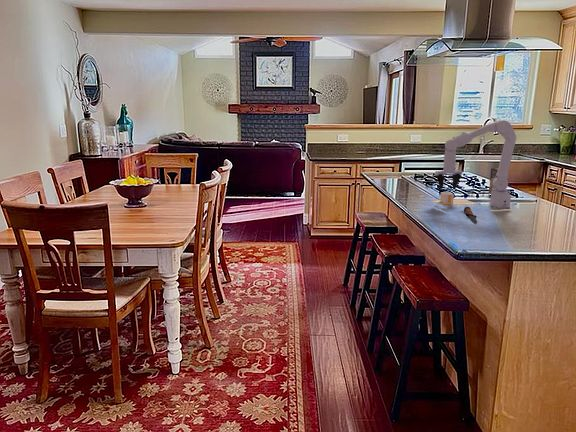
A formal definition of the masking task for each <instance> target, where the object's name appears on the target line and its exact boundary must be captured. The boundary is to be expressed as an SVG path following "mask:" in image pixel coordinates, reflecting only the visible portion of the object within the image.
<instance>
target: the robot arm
mask: <svg viewBox="0 0 576 432" xmlns="http://www.w3.org/2000/svg"><path fill="white" fill-rule="evenodd" d="M489 132H490V133H495V132H497V133H498V134H499V135H501V136H502V138H503V139H504V143H503V147H502V151H501V156H500V160H499V163H498V167H497V168H498V171H497V173H496V176H495V178H494V179H493V181H492V184H493V186H494V187H493V188H492V191H491V196H490V201H489V204H490V206H492V207H497V208H498V209H505V208H506V210H509V209H511V208H510V207H511V198H512V197H511V196H512V195H511V194H510V192H508V186H509V181H508V177H509V169H510V166H511V162H512V161H511V160H512V157H513V154H514V149H515V145H516V141H517V135H516V132H515V130H514V127H513V125H512V124H511V122H509V121H508V120H507V119H506V120H505V119H499V120H496V121H493V122H490V123H488V124H485V125H483V126H482V127H479V128H477V129H476V130H473V131H471V132H468V131H463V132H461V133H460V134H458V135H457V136H452V139H448V140H446V142H445V143H444V147H445V150H444V157H443V169H442V170H438V171H437V170H436V171H435V172H434V173H435V174H434V175H435V178H436V179H437V182H438V187H439V189H440V190H442V189H444V182H445V177H446V176H450V175H452V189H457V186H458V184H459V181H460V179H461V178H462V175H463V170H460V169H459V170H456V161H457V160H456V159H457V153H456V152H457V148H461V147H463V146H465V145H467V144H469V143H472V140H473V139H476V138H477V137H479V136H482V135H484V134H487V133H489Z"/></svg>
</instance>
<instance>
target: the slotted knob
mask: <svg viewBox="0 0 576 432" xmlns="http://www.w3.org/2000/svg"><path fill="white" fill-rule="evenodd" d="M454 195H455V194H454V193H452V192H449V191H446V192H444V191H443V192H440V197H439V200H440V202H442V203H445V204H448V203H453V199H455V198H454V197H455V196H454Z"/></svg>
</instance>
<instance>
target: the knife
mask: <svg viewBox="0 0 576 432" xmlns="http://www.w3.org/2000/svg"><path fill="white" fill-rule="evenodd" d="M463 211H464V212H465V216H466V217H467V218H468V217H469V219H470V220H471V222H473V224H474V225H477V224H478V220H477V215H475V214H474V213H473V211H472V210H471V208H470V206H466V207H464V209H463Z"/></svg>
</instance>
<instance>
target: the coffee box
mask: <svg viewBox="0 0 576 432" xmlns="http://www.w3.org/2000/svg"><path fill="white" fill-rule="evenodd" d="M497 171H498V167H497V168H496V167H493V168H491V169H490V175H489V176H490V178H489V186H488V194H489V193H490V194H491V191H492V188H493V187H494V186H493V184H492V181H493V179H494V178H495V176H496V173H497Z"/></svg>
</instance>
